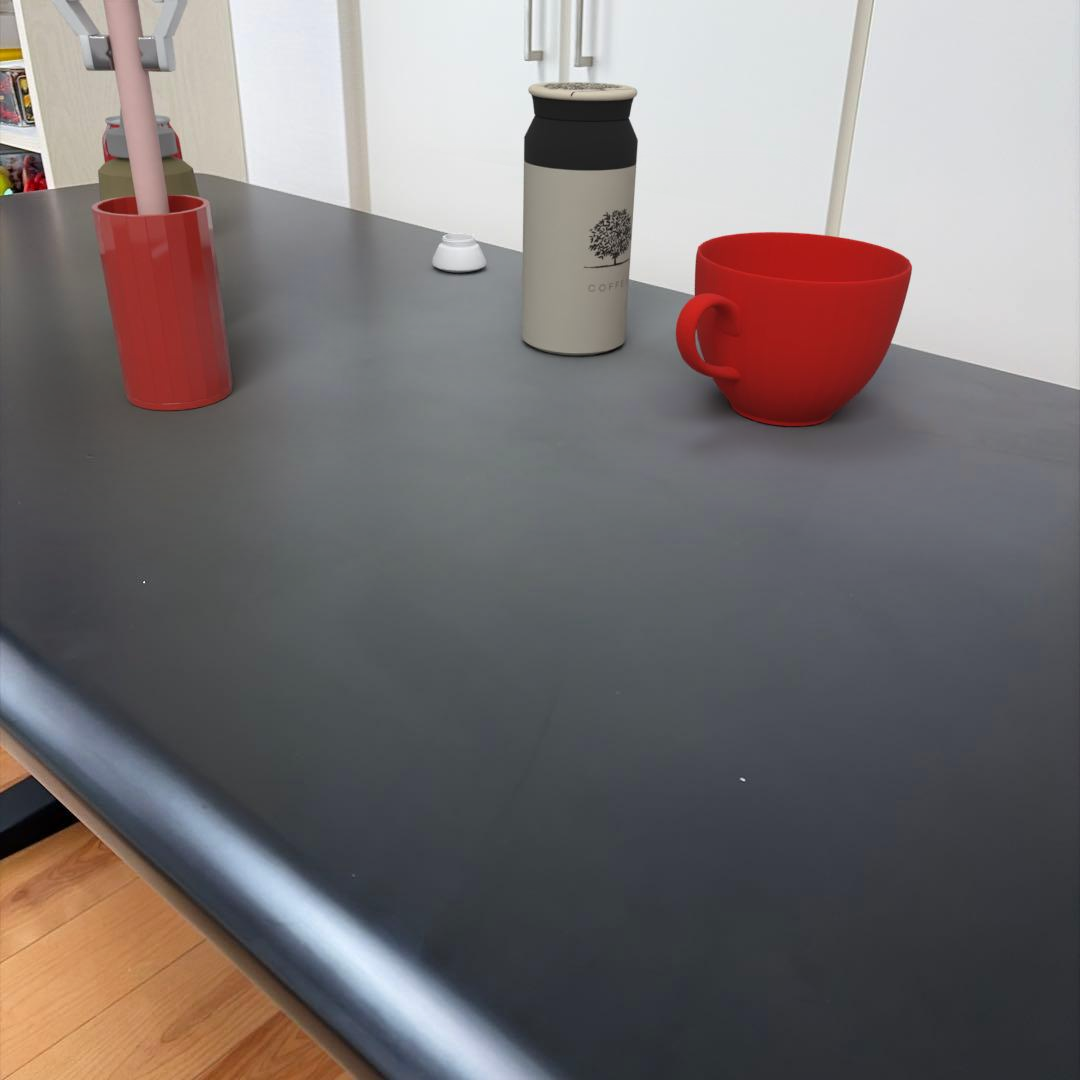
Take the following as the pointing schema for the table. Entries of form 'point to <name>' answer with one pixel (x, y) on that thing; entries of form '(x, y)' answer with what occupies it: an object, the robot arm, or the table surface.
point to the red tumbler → (165, 302)
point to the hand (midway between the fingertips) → (131, 70)
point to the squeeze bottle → (118, 170)
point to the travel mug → (578, 217)
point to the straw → (136, 106)
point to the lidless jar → (459, 254)
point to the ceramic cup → (791, 321)
